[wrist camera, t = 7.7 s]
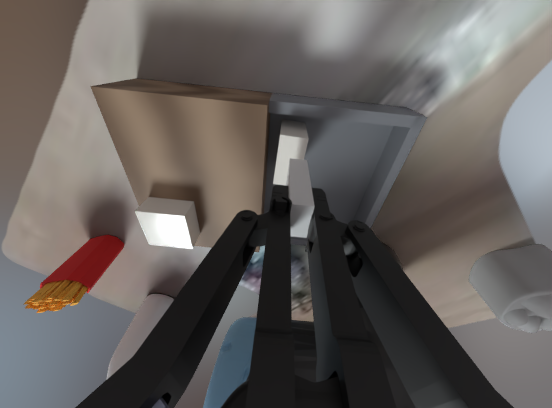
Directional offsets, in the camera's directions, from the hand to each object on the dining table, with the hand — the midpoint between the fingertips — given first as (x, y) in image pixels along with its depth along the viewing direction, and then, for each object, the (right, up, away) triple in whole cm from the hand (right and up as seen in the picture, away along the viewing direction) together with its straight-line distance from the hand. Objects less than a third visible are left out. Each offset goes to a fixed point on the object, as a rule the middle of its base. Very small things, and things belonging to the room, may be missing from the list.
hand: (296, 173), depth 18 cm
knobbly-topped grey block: (+39, -14, +18) cm, 45 cm away
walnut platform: (-10, +2, +8) cm, 13 cm away
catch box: (+4, +1, +8) cm, 9 cm away
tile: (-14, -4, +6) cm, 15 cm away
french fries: (-32, -10, +19) cm, 39 cm away
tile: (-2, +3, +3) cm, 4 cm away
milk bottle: (-29, -26, +31) cm, 50 cm away
